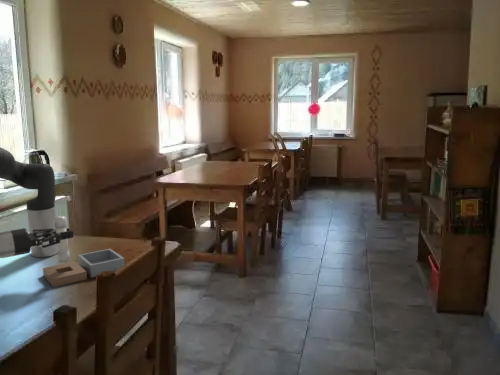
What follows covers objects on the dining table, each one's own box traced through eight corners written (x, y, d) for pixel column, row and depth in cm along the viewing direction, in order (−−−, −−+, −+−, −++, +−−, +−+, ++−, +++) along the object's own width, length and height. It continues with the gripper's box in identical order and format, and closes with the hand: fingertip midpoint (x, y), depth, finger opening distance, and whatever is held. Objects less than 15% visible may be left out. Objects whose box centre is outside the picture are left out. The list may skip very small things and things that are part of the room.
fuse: (57, 260, 145) (52, 217, 142) (68, 257, 147) (64, 215, 144) (59, 263, 142) (55, 219, 140) (71, 260, 144) (67, 217, 142)
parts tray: (79, 266, 155) (78, 255, 154) (111, 259, 162) (110, 248, 161) (91, 277, 145) (90, 265, 144) (125, 269, 151) (124, 258, 151)
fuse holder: (43, 275, 147) (42, 268, 147) (75, 268, 153) (75, 261, 153) (53, 287, 138) (52, 279, 137) (87, 279, 144) (86, 271, 143)
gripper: (13, 236, 129) (77, 225, 139) (4, 226, 140) (64, 216, 150) (16, 262, 130) (79, 249, 140) (7, 249, 141) (66, 238, 151)
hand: (71, 232), depth 145 cm, fingers closed on fuse, 3 cm apart
